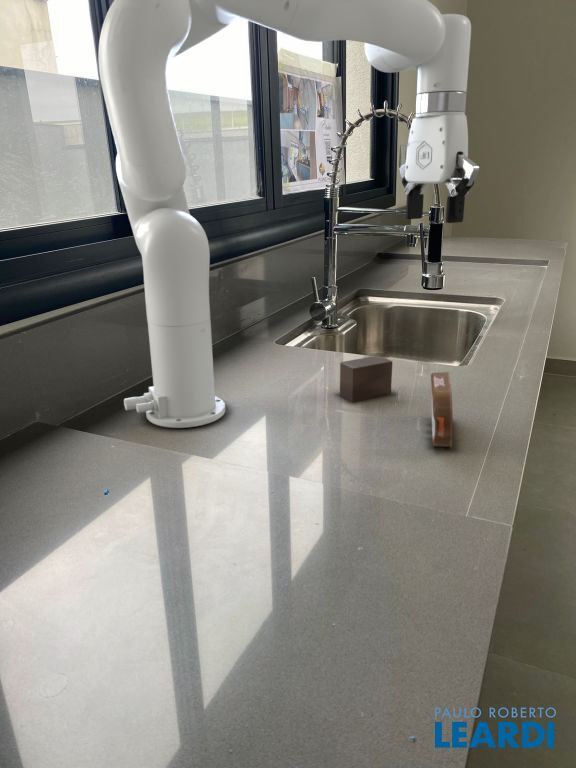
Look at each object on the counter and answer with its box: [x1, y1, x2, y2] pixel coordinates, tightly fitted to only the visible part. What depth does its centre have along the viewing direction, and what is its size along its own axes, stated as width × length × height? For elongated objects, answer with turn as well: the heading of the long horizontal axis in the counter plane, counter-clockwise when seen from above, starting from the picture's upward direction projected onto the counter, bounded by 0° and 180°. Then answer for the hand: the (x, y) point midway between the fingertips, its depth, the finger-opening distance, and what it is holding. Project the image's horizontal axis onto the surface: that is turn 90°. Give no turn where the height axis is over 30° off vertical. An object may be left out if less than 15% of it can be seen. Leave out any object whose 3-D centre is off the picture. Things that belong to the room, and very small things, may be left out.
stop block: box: [339, 354, 393, 403], centre depth 104 cm, size 8×4×6 cm, turn 118°
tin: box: [430, 371, 454, 448], centre depth 87 cm, size 15×3×8 cm, turn 168°
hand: (433, 220), depth 100 cm, fingers open, 9 cm apart
